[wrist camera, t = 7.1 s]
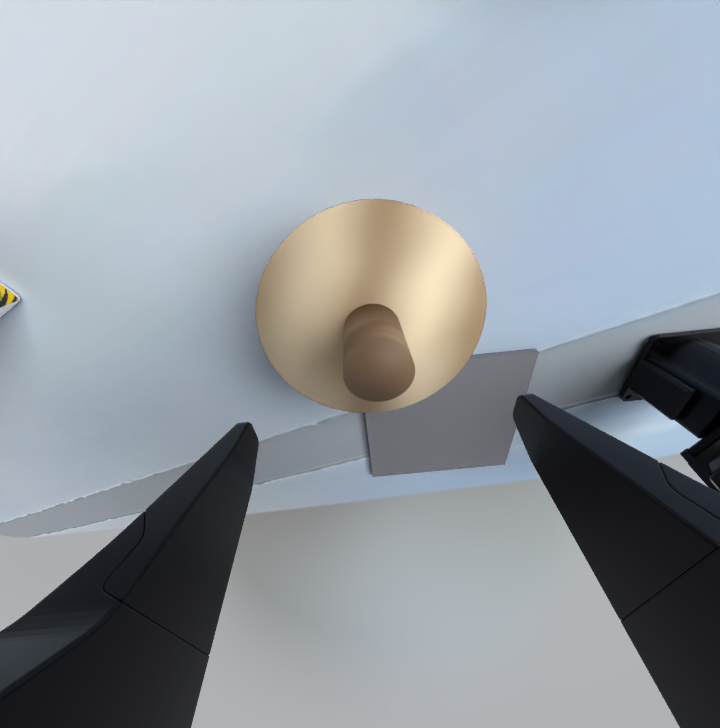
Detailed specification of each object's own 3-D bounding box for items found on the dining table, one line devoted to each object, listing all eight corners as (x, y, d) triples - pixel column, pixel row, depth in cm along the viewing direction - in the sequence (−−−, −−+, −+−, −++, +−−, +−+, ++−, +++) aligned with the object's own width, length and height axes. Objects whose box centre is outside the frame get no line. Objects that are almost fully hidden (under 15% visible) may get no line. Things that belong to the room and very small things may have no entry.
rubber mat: (535, 348, 22) (538, 351, 22) (502, 460, 30) (504, 464, 30) (359, 366, 23) (359, 370, 22) (372, 472, 31) (372, 476, 30)
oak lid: (498, 182, 12) (571, 187, 8) (467, 394, 19) (499, 453, 15) (224, 216, 13) (168, 236, 9) (290, 413, 19) (275, 475, 15)
